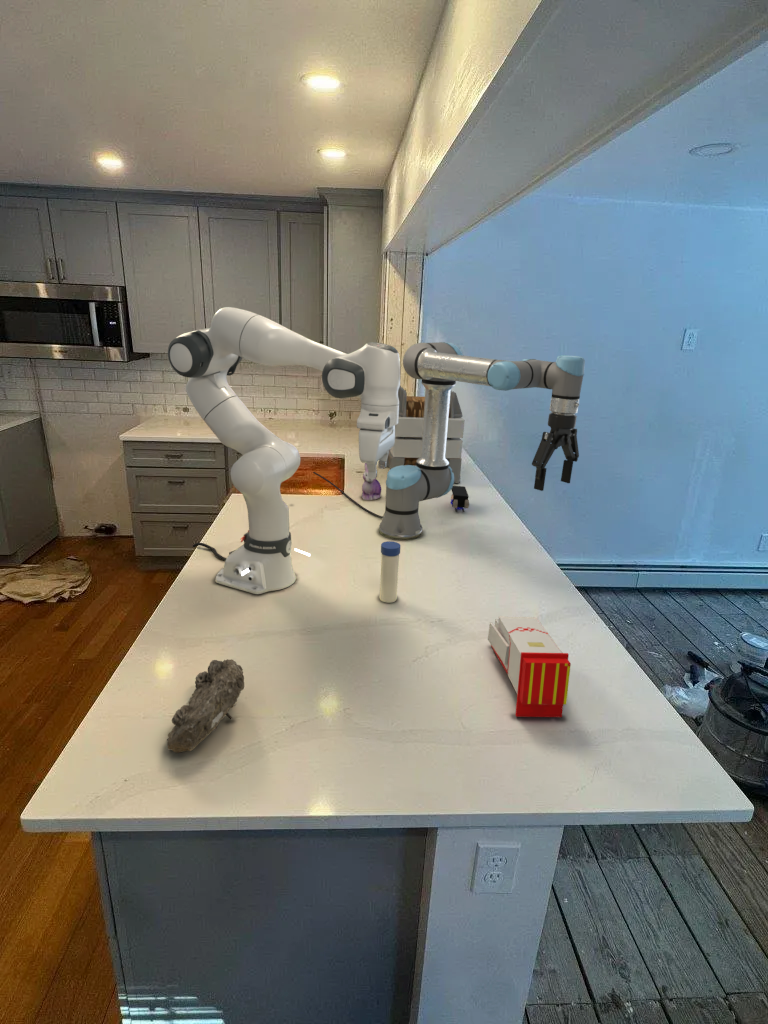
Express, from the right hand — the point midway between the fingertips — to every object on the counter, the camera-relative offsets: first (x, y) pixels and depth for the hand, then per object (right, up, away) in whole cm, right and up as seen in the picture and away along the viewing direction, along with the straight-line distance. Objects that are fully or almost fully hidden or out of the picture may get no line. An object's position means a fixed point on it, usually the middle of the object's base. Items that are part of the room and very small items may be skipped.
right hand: (552, 485), depth 166 cm
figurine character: (-19, -6, +63) cm, 66 cm away
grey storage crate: (-32, +11, +109) cm, 115 cm away
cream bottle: (-48, -31, -10) cm, 58 cm away
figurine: (-55, -2, +71) cm, 90 cm away
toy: (-19, -44, -41) cm, 63 cm away
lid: (-47, -17, -16) cm, 53 cm away
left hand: (-51, +2, -29) cm, 58 cm away
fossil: (-82, -47, -57) cm, 110 cm away
